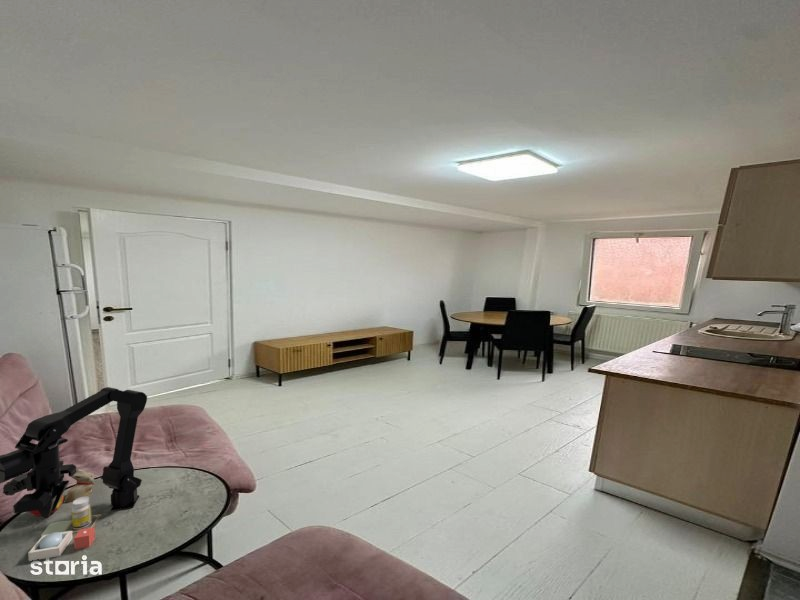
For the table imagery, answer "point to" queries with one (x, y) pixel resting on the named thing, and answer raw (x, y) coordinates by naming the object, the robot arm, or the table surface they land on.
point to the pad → (56, 527)
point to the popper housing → (50, 552)
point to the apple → (51, 511)
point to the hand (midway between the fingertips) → (49, 514)
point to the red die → (84, 538)
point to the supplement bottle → (81, 513)
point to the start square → (90, 527)
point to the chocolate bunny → (80, 485)
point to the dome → (51, 540)
